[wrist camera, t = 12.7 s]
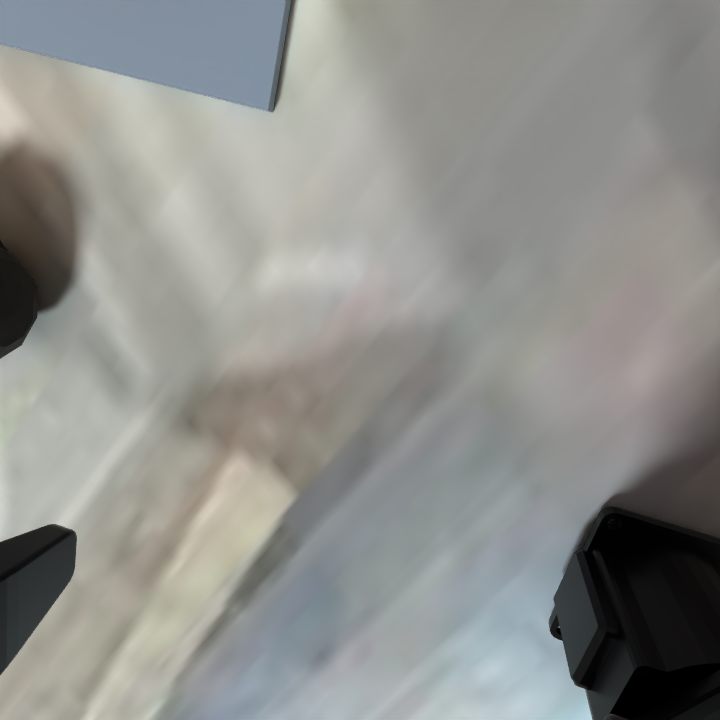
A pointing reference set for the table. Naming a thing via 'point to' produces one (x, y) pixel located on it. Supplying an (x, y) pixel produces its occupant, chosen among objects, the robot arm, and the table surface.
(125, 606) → the table surface
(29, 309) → the microphone
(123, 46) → the mat
